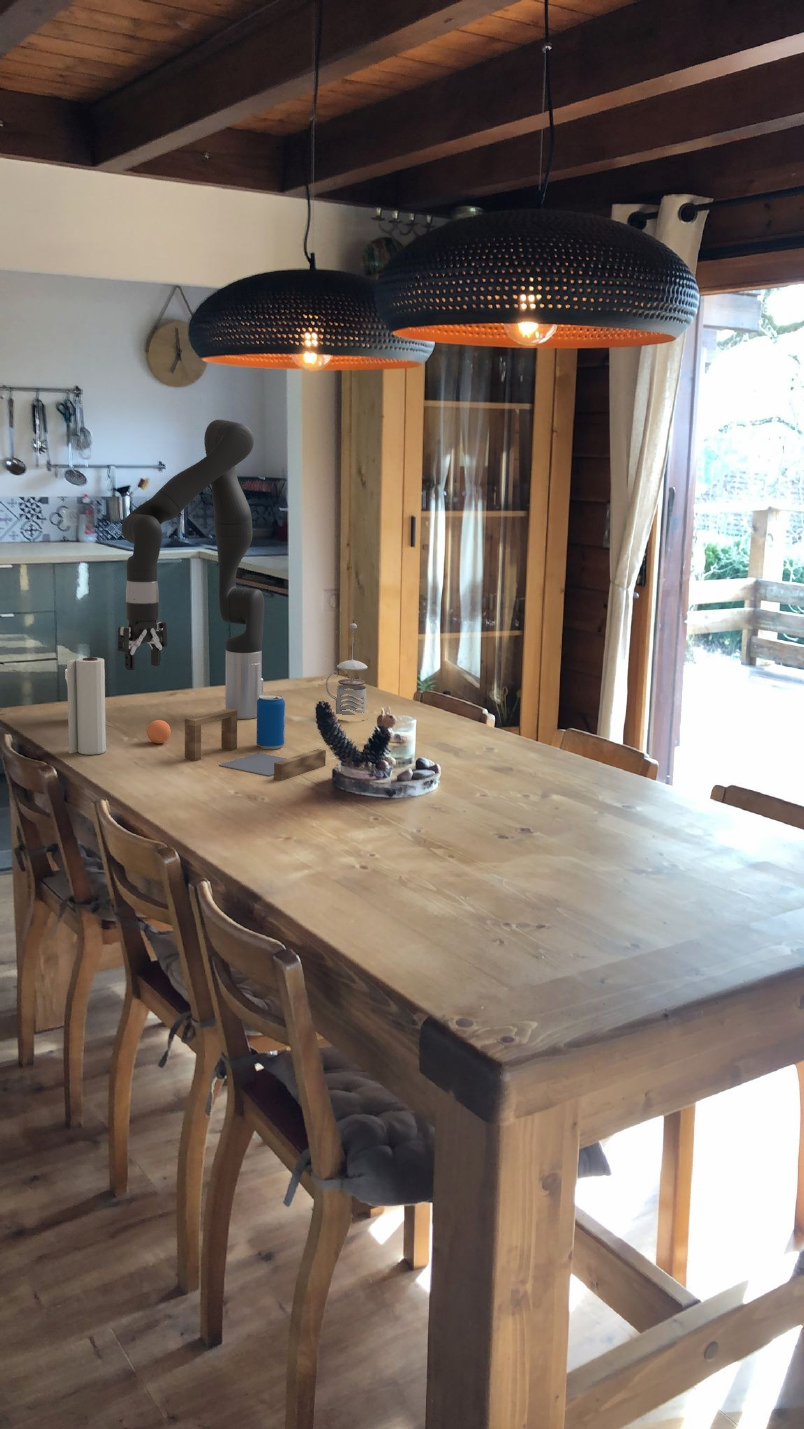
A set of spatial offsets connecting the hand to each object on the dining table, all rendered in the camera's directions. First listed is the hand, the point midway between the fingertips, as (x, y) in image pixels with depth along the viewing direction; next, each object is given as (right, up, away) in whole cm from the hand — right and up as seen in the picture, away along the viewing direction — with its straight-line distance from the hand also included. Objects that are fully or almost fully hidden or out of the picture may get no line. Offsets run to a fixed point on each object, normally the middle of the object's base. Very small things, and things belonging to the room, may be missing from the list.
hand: (143, 667), depth 285 cm
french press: (+47, -12, +29) cm, 57 cm away
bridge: (+18, -20, -14) cm, 31 cm away
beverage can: (+31, -19, -5) cm, 37 cm away
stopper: (+40, -24, -26) cm, 53 cm away
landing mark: (+31, -22, -21) cm, 44 cm away
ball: (+5, -15, -6) cm, 17 cm away
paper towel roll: (-9, -20, -16) cm, 27 cm away
